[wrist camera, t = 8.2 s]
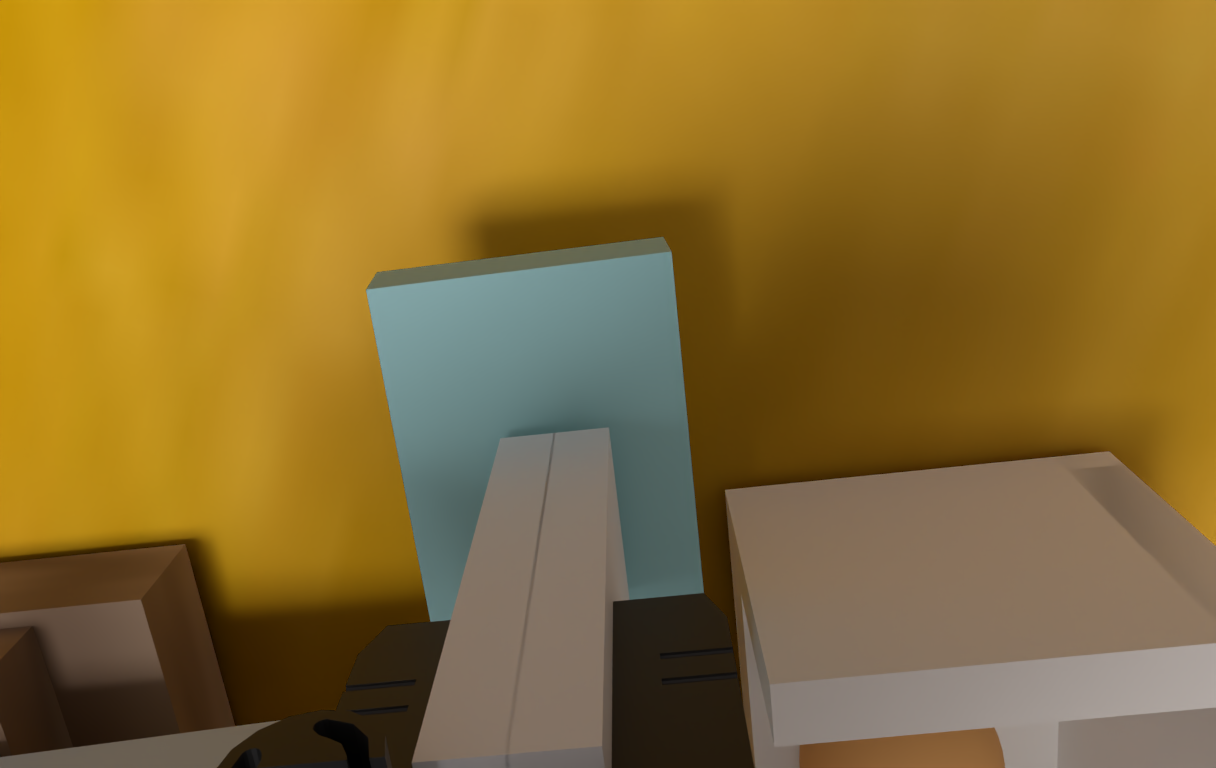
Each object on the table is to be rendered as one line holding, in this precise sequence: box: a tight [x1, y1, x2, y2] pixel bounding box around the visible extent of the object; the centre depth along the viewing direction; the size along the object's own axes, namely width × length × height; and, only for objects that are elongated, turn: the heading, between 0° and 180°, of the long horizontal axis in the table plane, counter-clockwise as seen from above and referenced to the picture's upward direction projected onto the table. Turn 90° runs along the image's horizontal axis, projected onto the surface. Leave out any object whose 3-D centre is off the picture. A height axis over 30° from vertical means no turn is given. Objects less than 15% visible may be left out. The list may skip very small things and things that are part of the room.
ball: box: [799, 727, 1005, 768], centre depth 19 cm, size 4×4×4 cm
